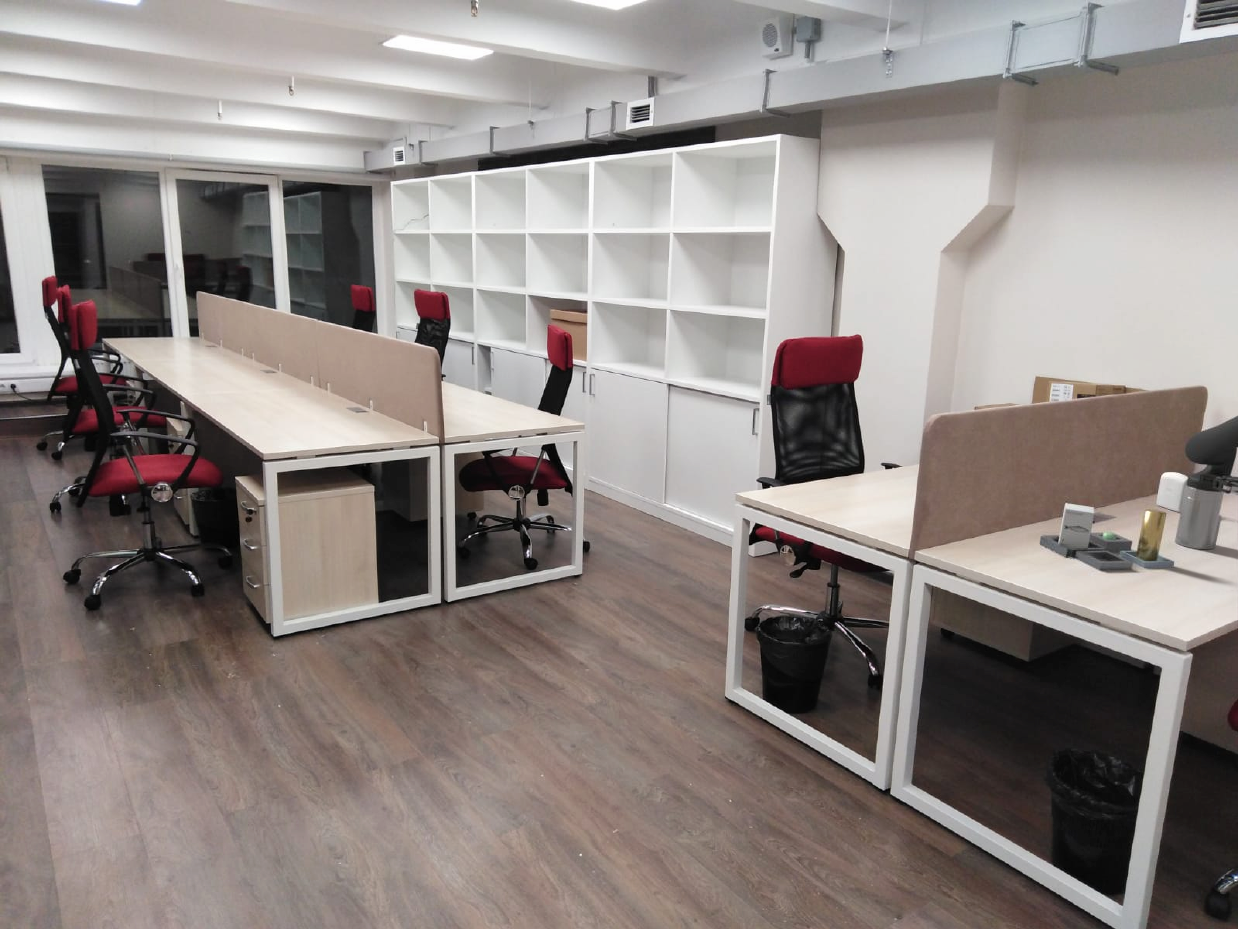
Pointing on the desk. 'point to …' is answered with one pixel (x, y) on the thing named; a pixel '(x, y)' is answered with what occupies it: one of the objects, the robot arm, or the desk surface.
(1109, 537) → the button
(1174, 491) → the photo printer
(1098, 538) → the grey square socket block
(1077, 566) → the desk surface
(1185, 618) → the desk surface
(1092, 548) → the gray compartment tray
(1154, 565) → the tote tray
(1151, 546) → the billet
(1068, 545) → the supplement box
